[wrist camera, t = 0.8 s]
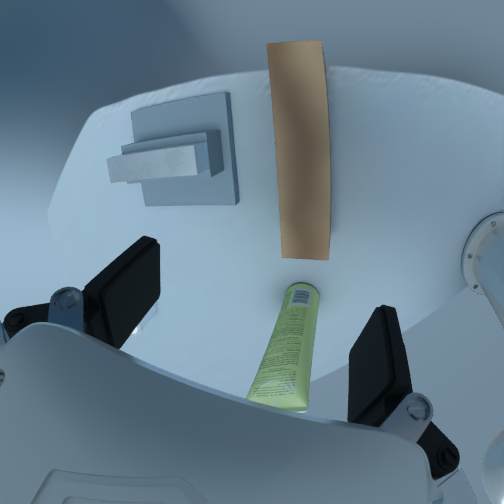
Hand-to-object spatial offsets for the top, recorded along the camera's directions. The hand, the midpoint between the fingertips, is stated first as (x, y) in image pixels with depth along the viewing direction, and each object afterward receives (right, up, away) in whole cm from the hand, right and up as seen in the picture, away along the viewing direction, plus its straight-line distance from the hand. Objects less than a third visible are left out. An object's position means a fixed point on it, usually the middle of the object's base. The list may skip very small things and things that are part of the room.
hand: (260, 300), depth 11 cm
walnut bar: (+6, +14, +19) cm, 25 cm away
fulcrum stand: (-9, +15, +23) cm, 29 cm away
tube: (+7, -4, +29) cm, 30 cm away
